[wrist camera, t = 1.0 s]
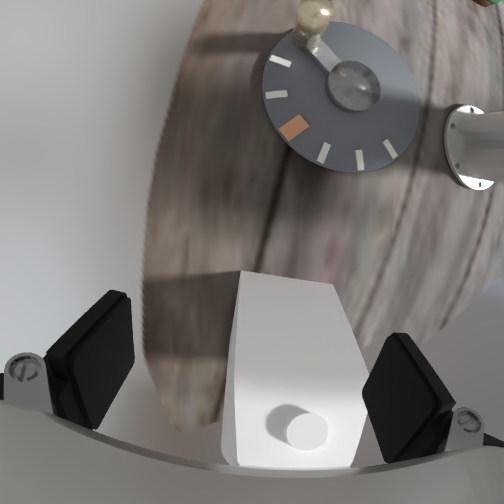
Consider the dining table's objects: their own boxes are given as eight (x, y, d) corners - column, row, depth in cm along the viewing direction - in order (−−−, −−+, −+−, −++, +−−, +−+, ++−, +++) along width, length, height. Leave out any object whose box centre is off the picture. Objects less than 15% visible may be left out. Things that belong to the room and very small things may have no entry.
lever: (382, 98, 27) (415, 83, 19) (347, 122, 28) (373, 110, 20) (315, 20, 24) (328, -13, 17) (276, 41, 25) (281, 8, 18)
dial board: (348, 6, 24) (351, 1, 23) (439, 122, 29) (444, 122, 27) (227, 76, 28) (226, 72, 27) (332, 205, 33) (335, 206, 31)
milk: (229, 344, 39) (202, 517, 14) (240, 270, 35) (209, 459, 11) (310, 354, 39) (345, 518, 14) (332, 284, 36) (419, 454, 11)
